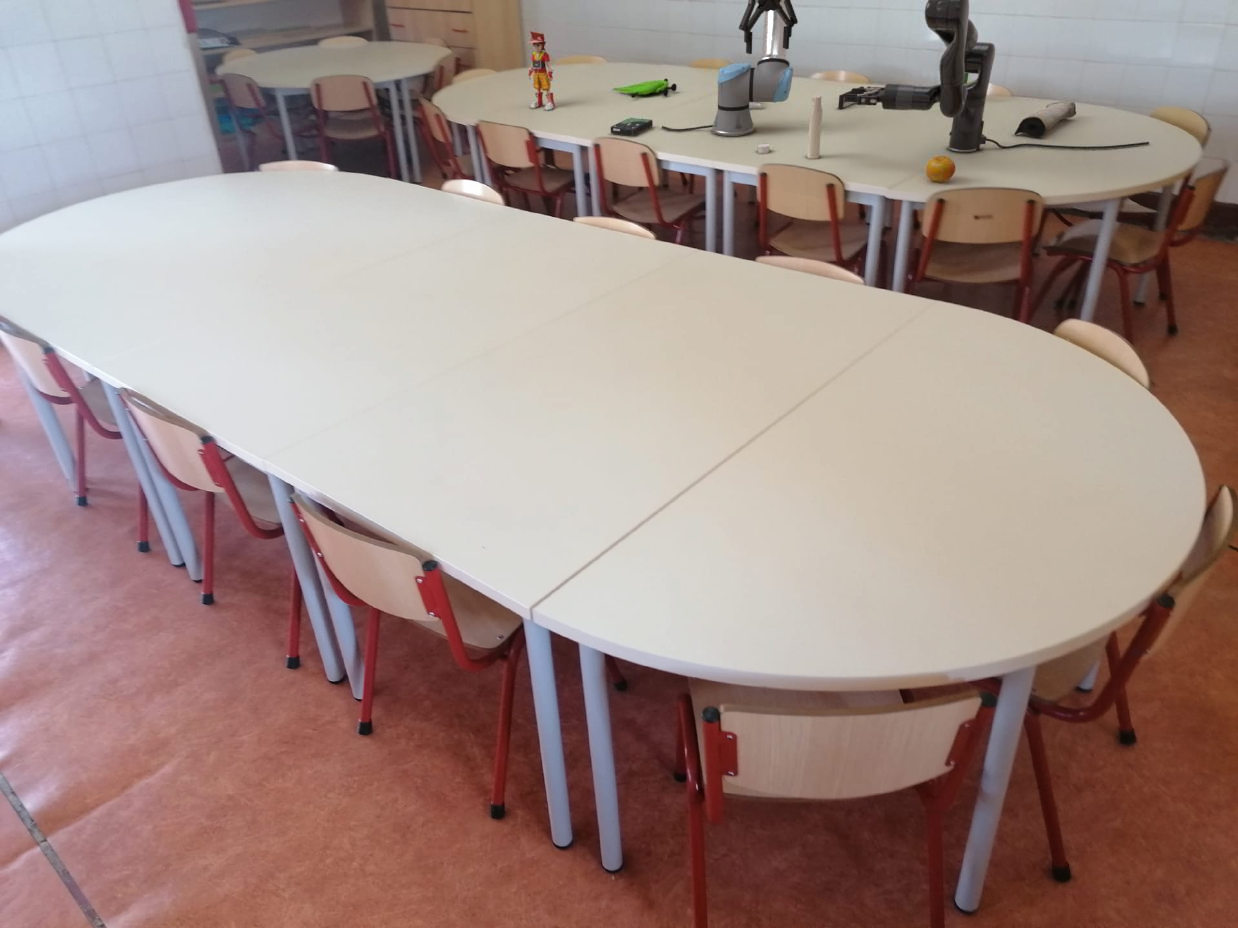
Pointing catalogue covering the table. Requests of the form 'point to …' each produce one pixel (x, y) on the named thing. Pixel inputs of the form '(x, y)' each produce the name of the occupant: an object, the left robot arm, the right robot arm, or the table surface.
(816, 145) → the bottle
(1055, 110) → the rolled mat
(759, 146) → the cap
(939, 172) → the fruit
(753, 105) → the anatomical model
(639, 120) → the disk drive
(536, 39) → the toy
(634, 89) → the toy
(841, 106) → the midi keyboard
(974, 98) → the right robot arm
